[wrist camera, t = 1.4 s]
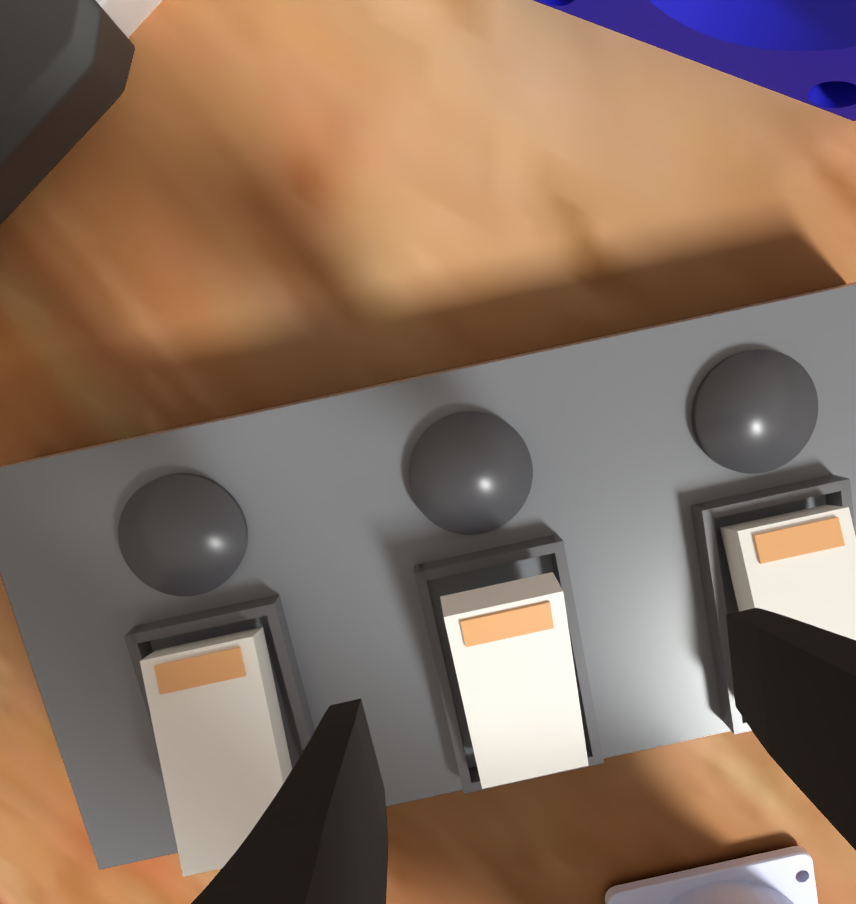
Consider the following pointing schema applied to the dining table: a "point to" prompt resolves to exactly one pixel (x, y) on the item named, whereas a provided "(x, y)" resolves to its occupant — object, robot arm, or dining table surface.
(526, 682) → the rocker middle
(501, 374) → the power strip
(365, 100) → the dining table surface
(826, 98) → the blue pipe cradle
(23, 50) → the usb drive
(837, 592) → the rocker
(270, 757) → the rocker
